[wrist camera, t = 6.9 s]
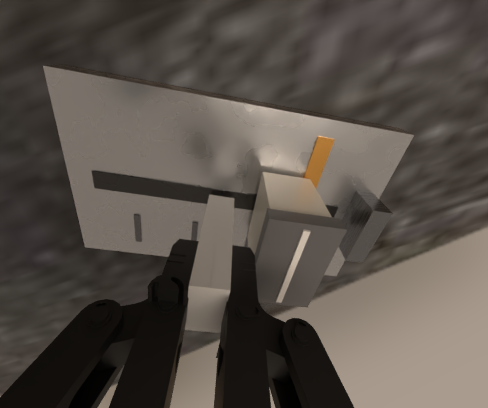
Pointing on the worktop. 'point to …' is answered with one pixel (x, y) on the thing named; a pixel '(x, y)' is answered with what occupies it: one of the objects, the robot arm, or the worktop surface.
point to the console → (208, 161)
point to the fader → (291, 239)
